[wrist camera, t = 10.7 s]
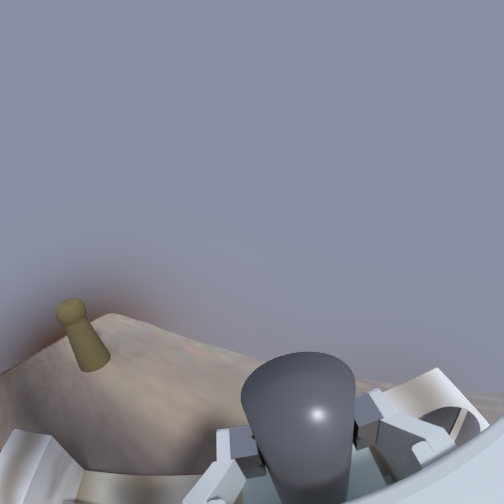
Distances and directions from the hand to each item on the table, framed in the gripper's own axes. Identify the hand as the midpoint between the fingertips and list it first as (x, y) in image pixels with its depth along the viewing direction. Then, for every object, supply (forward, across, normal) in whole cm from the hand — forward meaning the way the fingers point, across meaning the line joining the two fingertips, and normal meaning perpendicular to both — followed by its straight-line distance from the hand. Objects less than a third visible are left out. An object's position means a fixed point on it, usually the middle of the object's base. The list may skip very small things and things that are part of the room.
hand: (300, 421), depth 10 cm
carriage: (-1, 0, +12) cm, 12 cm away
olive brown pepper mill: (+28, +28, +13) cm, 42 cm away
